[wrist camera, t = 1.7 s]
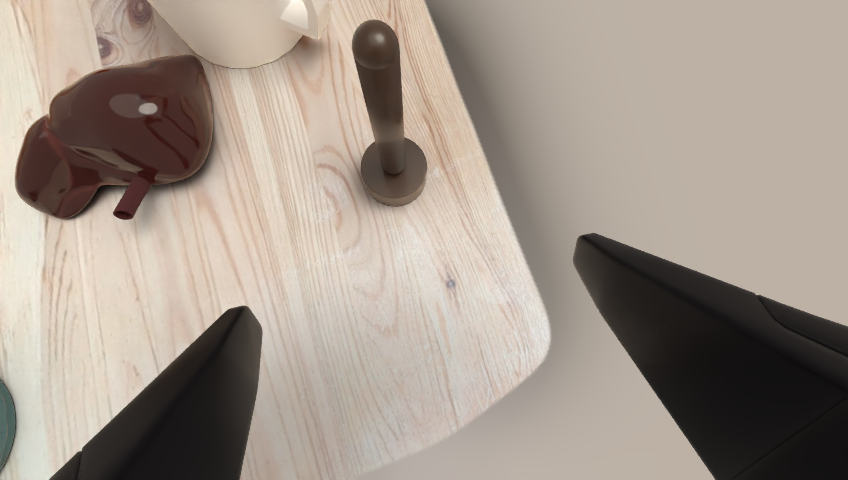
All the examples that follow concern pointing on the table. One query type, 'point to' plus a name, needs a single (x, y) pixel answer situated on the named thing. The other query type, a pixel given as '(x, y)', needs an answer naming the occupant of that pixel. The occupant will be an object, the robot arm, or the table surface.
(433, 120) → the table surface
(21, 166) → the liver model
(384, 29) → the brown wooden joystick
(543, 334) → the table surface
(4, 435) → the stir bowl
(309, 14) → the mug
